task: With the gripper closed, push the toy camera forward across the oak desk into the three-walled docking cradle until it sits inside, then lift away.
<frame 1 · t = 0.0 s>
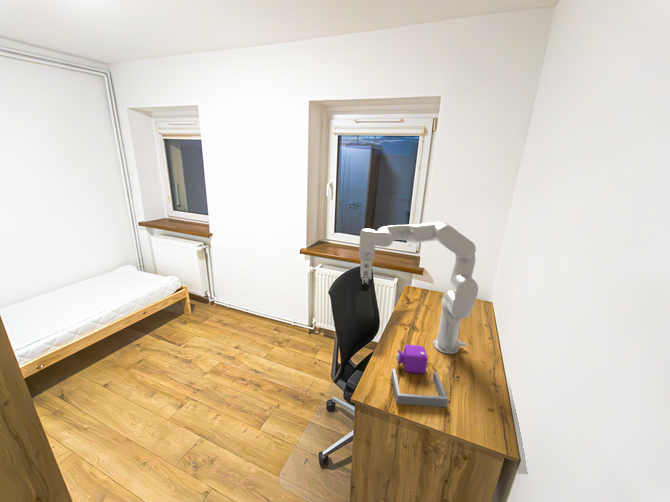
hand: (364, 287, 142), 31 cm above the table, tool pointing down, fingers open, 9 cm apart
toy camera: (410, 367, 133), on the table
cradle: (416, 389, 120), on the table
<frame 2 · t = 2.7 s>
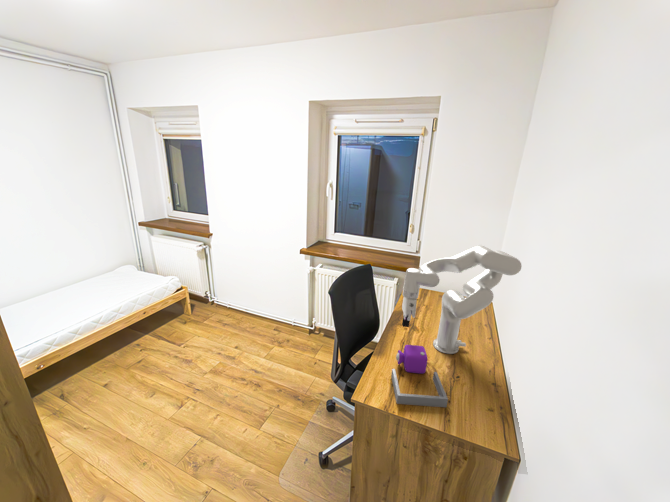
hand: (405, 325, 145), 12 cm above the table, tool pointing down, fingers closed
nothing on the table moved.
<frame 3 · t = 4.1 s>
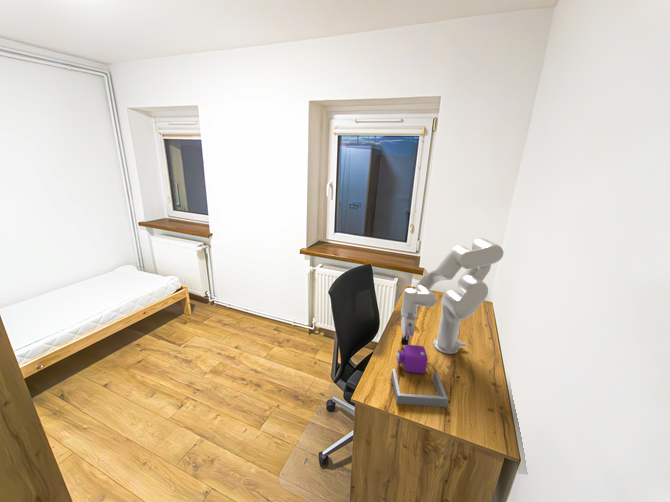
hand: (404, 344, 147), 2 cm above the table, tool pointing down, fingers closed
nothing on the table moved.
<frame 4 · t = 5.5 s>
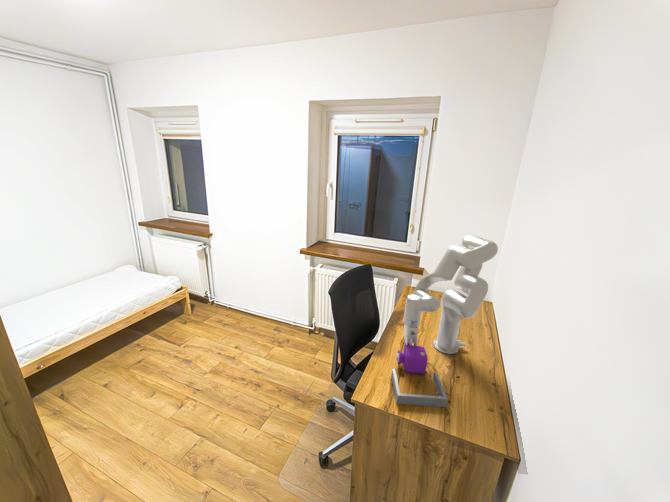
hand: (407, 353, 140), 2 cm above the table, tool pointing down, fingers closed
toy camera: (410, 367, 133), on the table, touching gripper
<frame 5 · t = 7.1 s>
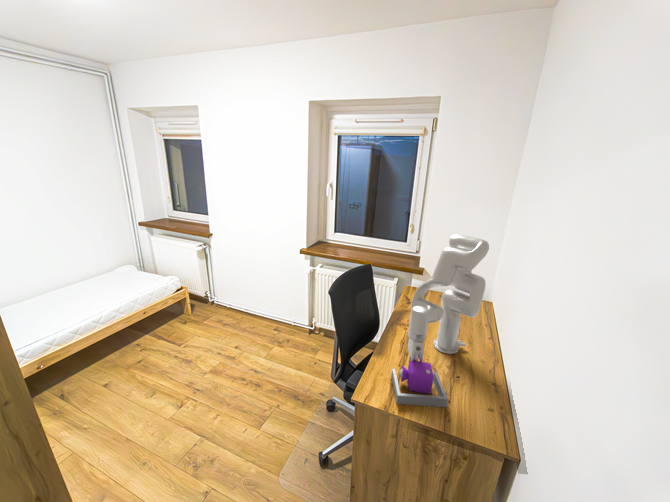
hand: (411, 368, 129), 2 cm above the table, tool pointing down, fingers closed
toy camera: (414, 385, 122), on the table, touching gripper
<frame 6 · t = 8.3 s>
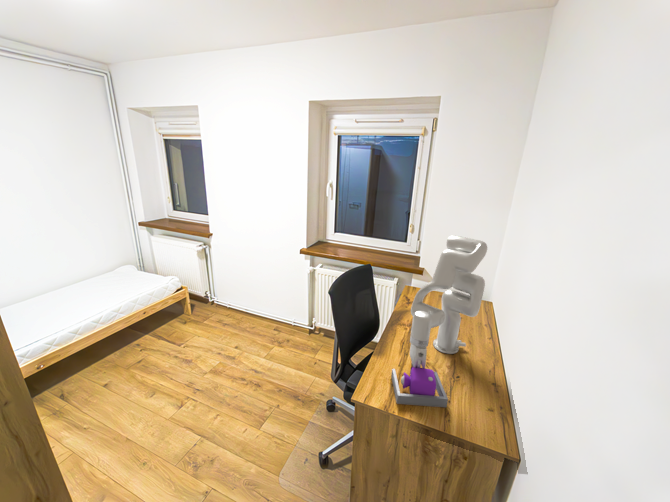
hand: (414, 375, 126), 2 cm above the table, tool pointing down, fingers closed
toy camera: (416, 392, 118), on the table, touching gripper
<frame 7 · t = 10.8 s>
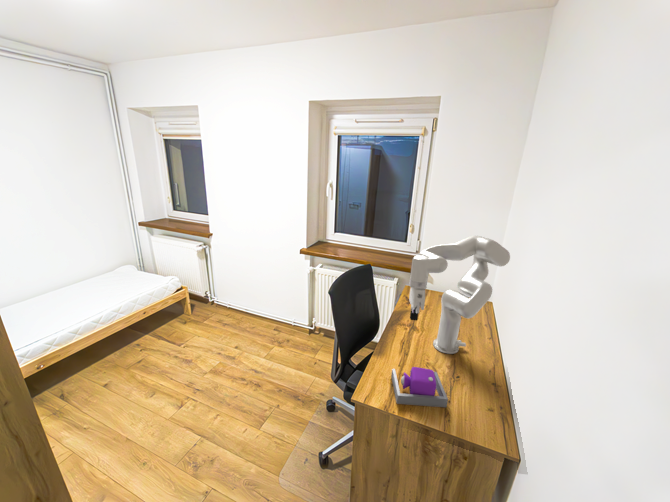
hand: (413, 319, 132), 22 cm above the table, tool pointing down, fingers closed
toy camera: (416, 393, 118), on the table
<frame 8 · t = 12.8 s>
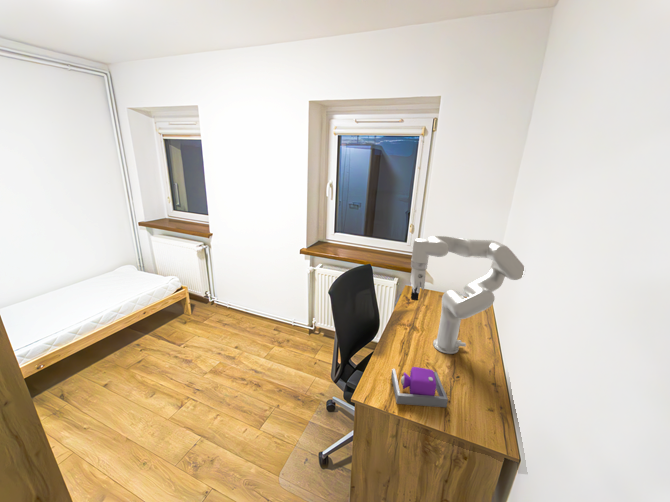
hand: (414, 299, 140), 27 cm above the table, tool pointing down, fingers closed
nothing on the table moved.
at the end: toy camera inside the target area on the cradle (0.4 cm from its centre), point 0.0 cm above the cradle's base; toy camera tilted 0°; toy camera moved 15.6 cm from its start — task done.
